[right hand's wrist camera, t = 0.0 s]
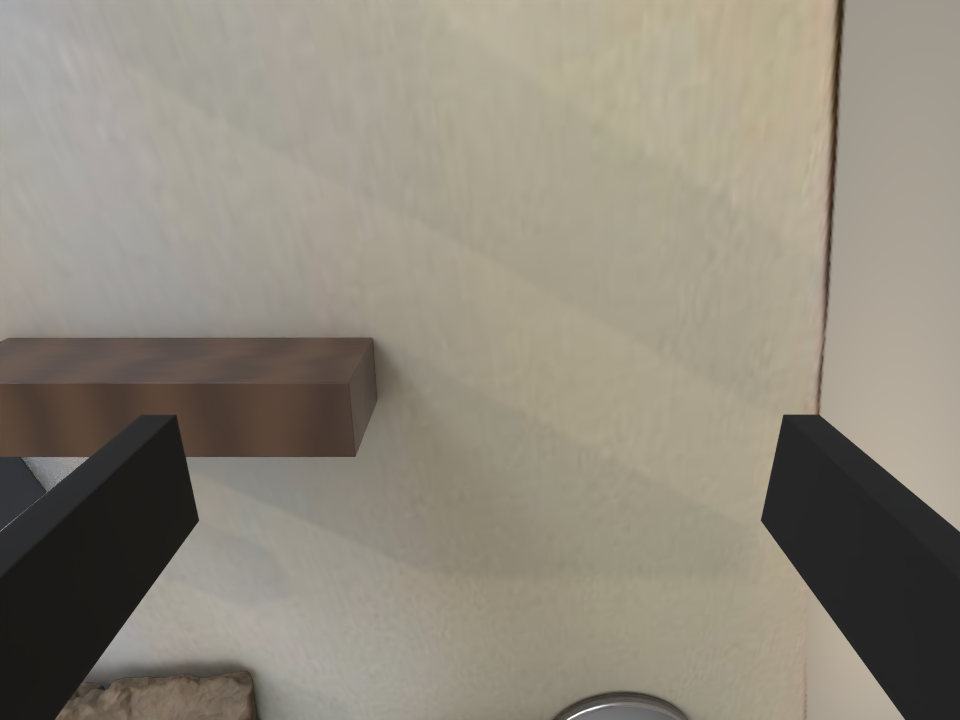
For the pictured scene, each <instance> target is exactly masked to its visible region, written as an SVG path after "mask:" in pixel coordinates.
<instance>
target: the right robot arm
mask: <svg viewBox="0 0 960 720" xmlns="http://www.w3.org/2000/svg"><path fill="white" fill-rule="evenodd" d="M198 521H199V518H198V513H197V509H196V504H195V499H194V495H193V490H192V485H191V481H190V476H189V471H188V466H187V462H186V457H185V452H184V448H183V443H182V438H181V434H180V429H179V424H178V420H177V415H140V416H139V417H138V418H137V419H135V420H134V421H133V422H132V423H131V424H129V425H128V426H127V427H126V428H125V429H123V430H122V431H121V432H120V433H119V434H117V435H116V436H115V437H114V438H112V439H111V440H110V441H109V442H108V443H106V444H105V445H104V446H103V447H102V448H100V449H99V450H98V451H97V452H96V453H94V454H93V455H92V456H91V457H90V458H88V459H87V460H86V461H85V462H84V463H82V464H81V465H80V466H79V467H78V468H76V469H75V470H74V471H73V472H72V473H70V474H69V475H68V476H67V477H66V478H64V479H63V480H62V481H61V482H60V483H58V484H57V485H56V486H55V487H54V488H52V489H51V490H50V491H49V492H48V493H46V494H45V495H44V496H43V497H42V498H40V499H39V500H38V501H37V502H36V503H34V504H33V505H32V506H31V507H30V508H28V509H27V510H26V511H25V512H24V513H22V514H21V515H20V516H19V517H18V518H16V519H15V520H14V521H13V522H12V523H10V524H9V525H8V526H7V527H6V528H4V529H3V530H2V531H1V532H0V720H55V719H56V717H57V716H58V715H59V713H60V712H61V710H62V709H63V708H64V706H65V705H66V704H67V702H68V701H69V699H70V698H71V697H72V695H73V694H74V693H75V691H76V690H77V688H78V687H79V686H80V684H81V683H82V681H83V680H84V679H85V677H86V676H87V675H88V673H89V672H90V670H91V669H92V668H93V666H94V665H95V664H96V662H97V661H98V659H99V658H100V657H101V655H102V654H103V652H104V651H105V650H106V648H107V647H108V646H109V644H110V643H111V641H112V640H113V639H114V637H115V636H116V635H117V633H118V632H119V630H120V629H121V628H122V626H123V625H124V623H125V622H126V621H127V619H128V618H129V617H130V615H131V614H132V612H133V611H134V610H135V608H136V607H137V606H138V604H139V603H140V601H141V600H142V599H143V597H144V596H145V594H146V593H147V592H148V590H149V589H150V588H151V586H152V585H153V583H154V582H155V581H156V579H157V578H158V577H159V575H160V574H161V572H162V571H163V570H164V568H165V567H166V565H167V564H168V563H169V561H170V560H171V559H172V557H173V556H174V554H175V553H176V552H177V550H178V549H179V548H180V546H181V545H182V543H183V542H184V541H185V539H186V538H187V536H188V535H189V534H190V532H191V531H192V530H193V528H194V527H195V525H196V524H197V523H198ZM761 521H762V523H763V524H764V525H765V527H766V528H767V530H768V531H769V532H770V534H771V535H772V536H773V538H774V539H775V541H776V542H777V543H778V545H779V546H780V548H781V549H782V550H783V552H784V553H785V554H786V556H787V557H788V559H789V560H790V561H791V563H792V564H793V565H794V567H795V568H796V570H797V571H798V572H799V574H800V575H801V577H802V578H803V579H804V581H805V582H806V583H807V585H808V586H809V588H810V589H811V590H812V592H813V593H814V594H815V596H816V597H817V599H818V600H819V601H820V603H821V604H822V606H823V607H824V608H825V610H826V611H827V612H828V614H829V615H830V617H831V618H832V619H833V621H834V622H835V623H836V625H837V626H838V628H839V629H840V630H841V632H842V633H843V634H844V636H845V637H846V639H847V640H848V641H849V643H850V644H851V646H852V647H853V648H854V650H855V651H856V652H857V654H858V655H859V657H860V658H861V659H862V661H863V662H864V663H865V665H866V666H867V668H868V669H869V670H870V672H871V673H872V675H873V676H874V677H875V679H876V680H877V681H878V683H879V684H880V686H881V687H882V688H883V690H884V691H885V693H886V694H887V695H888V697H889V698H890V699H891V701H892V702H893V704H894V705H895V706H896V708H897V709H898V710H899V712H900V713H901V715H902V716H903V717H904V719H905V720H960V532H959V531H958V530H957V529H956V528H954V527H953V526H952V525H951V524H950V523H948V522H947V521H946V520H945V519H944V518H942V517H941V516H940V515H939V514H938V513H936V512H935V511H934V510H933V509H932V508H930V507H929V506H928V505H927V504H926V503H924V502H923V501H922V500H921V499H920V498H918V497H917V496H916V495H915V494H914V493H912V492H911V491H910V490H909V489H908V488H906V487H905V486H904V485H903V484H902V483H900V482H899V481H898V480H897V479H896V478H894V477H893V476H892V475H891V474H890V473H888V472H887V471H886V470H885V469H884V468H882V467H881V466H880V465H879V464H878V463H876V462H875V461H874V460H873V459H871V458H870V457H869V456H868V455H867V454H865V453H864V452H863V451H862V450H861V449H860V448H858V447H857V446H856V445H855V444H854V443H852V442H851V441H850V440H849V439H848V438H846V437H845V436H844V435H843V434H841V433H840V432H839V431H838V430H837V429H835V428H834V427H833V426H832V425H831V424H829V423H828V422H827V421H826V420H825V419H823V418H822V417H821V416H820V415H783V420H782V424H781V429H780V434H779V438H778V443H777V448H776V452H775V457H774V462H773V466H772V471H771V476H770V481H769V485H768V490H767V495H766V499H765V504H764V509H763V513H762V518H761ZM554 720H688V719H687V718H686V716H685V715H684V714H683V713H682V712H680V711H679V710H678V709H677V708H675V707H674V706H672V705H670V704H669V703H667V702H665V701H662V700H660V699H657V698H654V697H650V696H646V695H641V694H631V693H618V694H607V695H602V696H597V697H593V698H590V699H587V700H584V701H582V702H579V703H577V704H575V705H573V706H571V707H569V708H568V709H566V710H565V711H563V712H562V713H561V714H559V715H558V716H557V717H556V718H555V719H554Z"/></svg>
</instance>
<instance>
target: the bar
mask: <svg viewBox="0 0 960 720" xmlns="http://www.w3.org/2000/svg"><path fill="white" fill-rule="evenodd" d="M376 402H377V393H376V379H375V366H374V352H373V339H372V338H8V339H5V340H3V341H1V342H0V457H91V456H92V455H93V454H94V453H96V452H97V451H98V450H99V449H100V448H102V447H103V446H104V445H105V444H106V443H108V442H109V441H110V440H111V439H112V438H114V437H115V436H116V435H117V434H119V433H120V432H121V431H122V430H123V429H125V428H126V427H127V426H128V425H129V424H131V423H132V422H133V421H134V420H135V419H137V418H138V417H139V416H140V415H177V420H178V424H179V429H180V434H181V438H182V443H183V448H184V452H185V457H355V456H356V454H357V452H358V449H359V446H360V444H361V441H362V438H363V436H364V433H365V431H366V428H367V425H368V423H369V420H370V418H371V415H372V412H373V410H374V407H375V405H376Z"/></svg>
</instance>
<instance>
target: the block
mask: <svg viewBox="0 0 960 720" xmlns="http://www.w3.org/2000/svg"><path fill="white" fill-rule="evenodd" d="M45 493H46V491H45V490H44V489H43V487H42V486H41V485H40V483H39V482H38V481H37V479H36V478H35V477H34V475H33V474H32V473H31V471H30V470H29V469H28V467H27V466H26V465H25V463H24V462H23V461H22V459H21V458H20V457H0V530H2V529H3V528H4V527H5V526H6V525H8V524H9V523H10V522H11V521H13V520H14V519H15V518H16V517H17V516H19V515H20V514H21V513H22V512H23V511H25V510H26V509H27V508H28V507H29V506H31V505H32V504H33V503H34V502H35V501H37V500H38V499H39V498H40V497H41V496H43V495H44V494H45Z"/></svg>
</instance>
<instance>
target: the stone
mask: <svg viewBox="0 0 960 720" xmlns="http://www.w3.org/2000/svg"><path fill="white" fill-rule="evenodd" d="M252 689H253V679H252V678H251V676H250V673H249V672H247V671H242V672H236V673H228V672H227V673H225V674H224V675H220V676H214V677H208V678H199V677H194V676H192V675H190V674H187V675H177V676H169V677H167V678H153V677H149V676H147V677H143V678H131V677H125V678H123V679H120V680H114V681H113V682H112V684H111V685H110V687H109V688H108V689H107V690H105V689H104V687H103V685H100V684H96V683H92V682H82V683H81V684H80V686H79V687H78V688H77V690H76V691H75V693H74V694H73V695H72V697H71V698H70V699H69V701H68V702H67V704H66V705H65V706H64V708H63V709H62V710H61V712H60V713H59V715H58V716H57V717H56V719H55V720H257V719H256V707H255V700H254V693H253V690H252Z"/></svg>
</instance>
